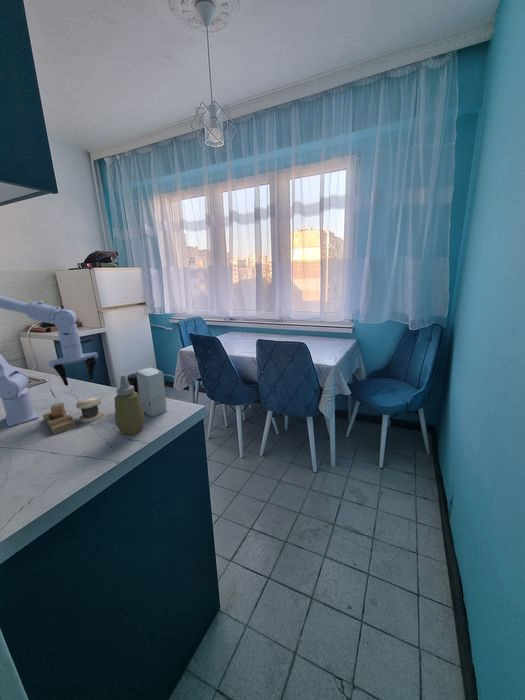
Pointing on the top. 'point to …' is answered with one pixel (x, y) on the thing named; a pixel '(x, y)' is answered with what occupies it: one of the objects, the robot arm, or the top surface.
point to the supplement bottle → (133, 381)
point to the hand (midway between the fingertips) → (78, 381)
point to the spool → (89, 409)
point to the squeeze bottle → (128, 409)
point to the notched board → (59, 423)
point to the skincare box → (151, 391)
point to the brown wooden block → (58, 411)
